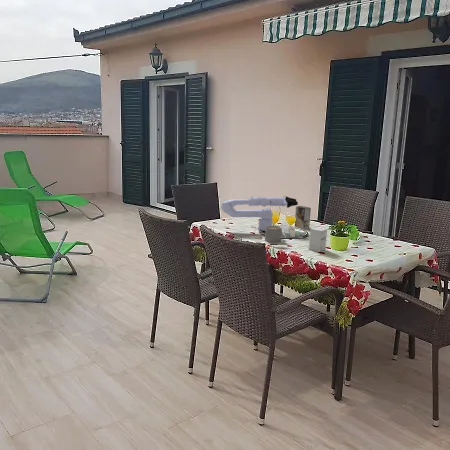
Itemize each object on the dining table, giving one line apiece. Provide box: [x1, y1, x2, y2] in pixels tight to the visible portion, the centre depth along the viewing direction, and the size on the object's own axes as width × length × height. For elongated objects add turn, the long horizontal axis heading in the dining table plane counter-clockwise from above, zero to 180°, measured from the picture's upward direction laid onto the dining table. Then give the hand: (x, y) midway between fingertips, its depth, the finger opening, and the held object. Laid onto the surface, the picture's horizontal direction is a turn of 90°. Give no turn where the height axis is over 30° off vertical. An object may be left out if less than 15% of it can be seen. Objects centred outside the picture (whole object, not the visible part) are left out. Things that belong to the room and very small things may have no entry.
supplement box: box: [308, 227, 328, 253], centre depth 273 cm, size 7×7×13 cm
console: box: [281, 230, 304, 240], centre depth 303 cm, size 15×20×2 cm
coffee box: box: [294, 205, 312, 230], centre depth 325 cm, size 9×6×16 cm
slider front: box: [290, 229, 296, 237], centre depth 296 cm, size 3×3×4 cm
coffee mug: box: [264, 224, 283, 246], centre depth 286 cm, size 13×10×10 cm
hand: (296, 202), depth 310 cm, fingers open, 7 cm apart
